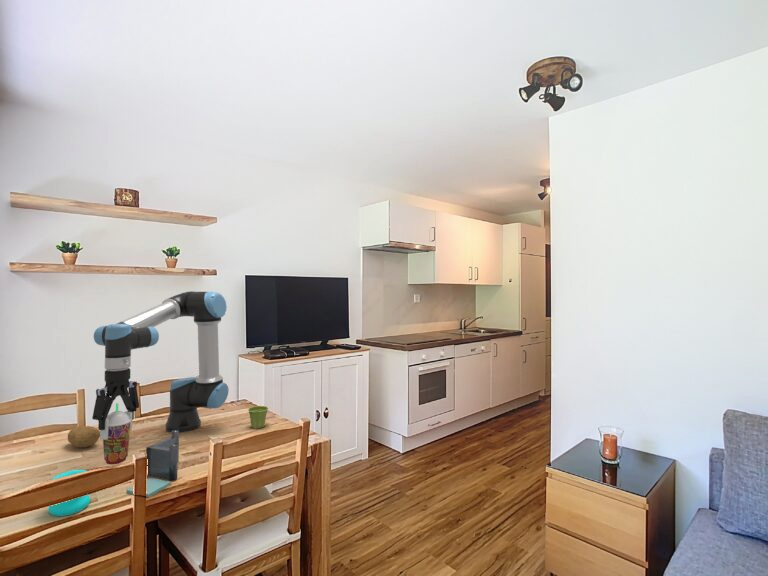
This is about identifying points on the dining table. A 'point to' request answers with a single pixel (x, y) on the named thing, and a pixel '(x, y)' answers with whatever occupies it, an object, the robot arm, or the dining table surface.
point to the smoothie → (117, 437)
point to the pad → (153, 486)
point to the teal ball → (71, 505)
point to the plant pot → (258, 416)
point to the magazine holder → (164, 457)
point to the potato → (83, 436)
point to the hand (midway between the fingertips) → (116, 434)
